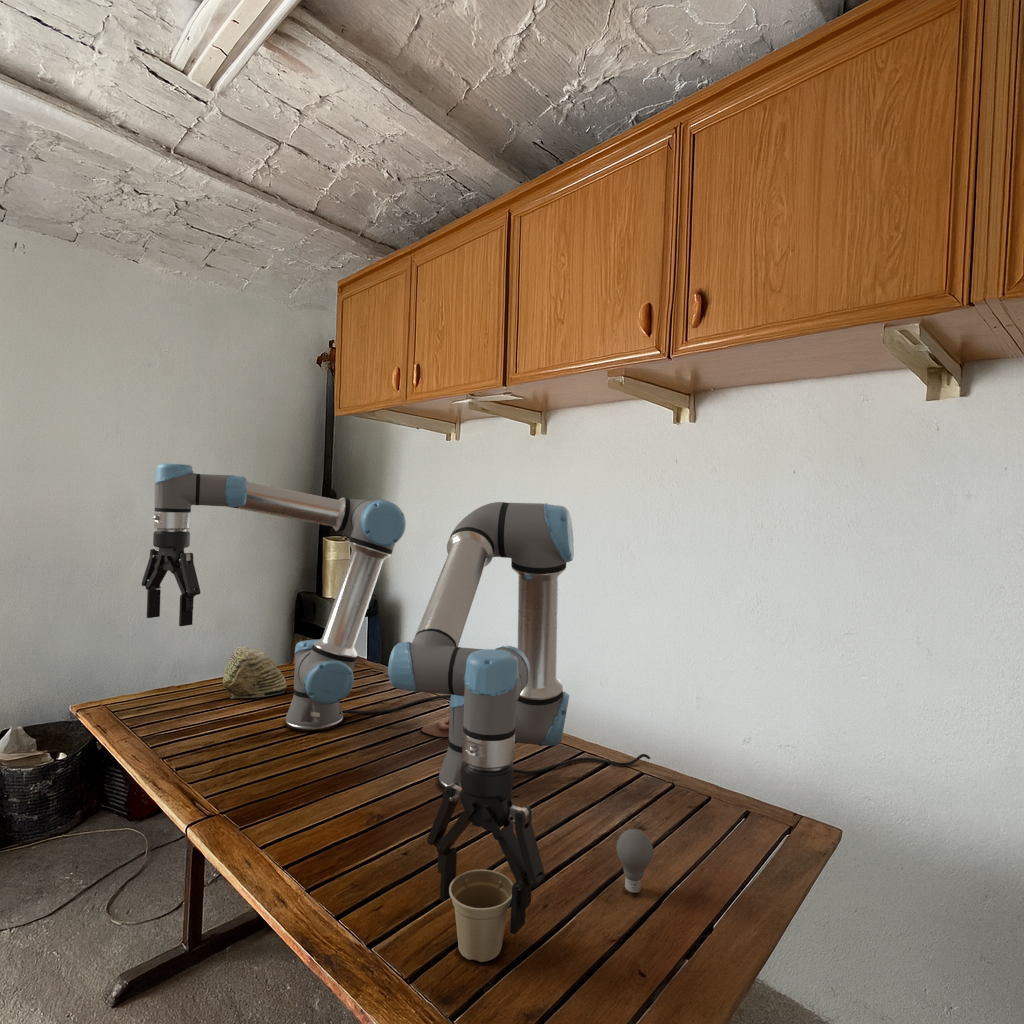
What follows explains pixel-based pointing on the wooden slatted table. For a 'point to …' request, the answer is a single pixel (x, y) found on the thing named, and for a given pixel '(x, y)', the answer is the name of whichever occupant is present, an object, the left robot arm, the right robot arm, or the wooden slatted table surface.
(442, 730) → the anatomical model
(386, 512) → the left robot arm
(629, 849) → the light bulb
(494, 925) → the plastic plant pot
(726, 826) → the wooden slatted table surface
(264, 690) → the fossil
